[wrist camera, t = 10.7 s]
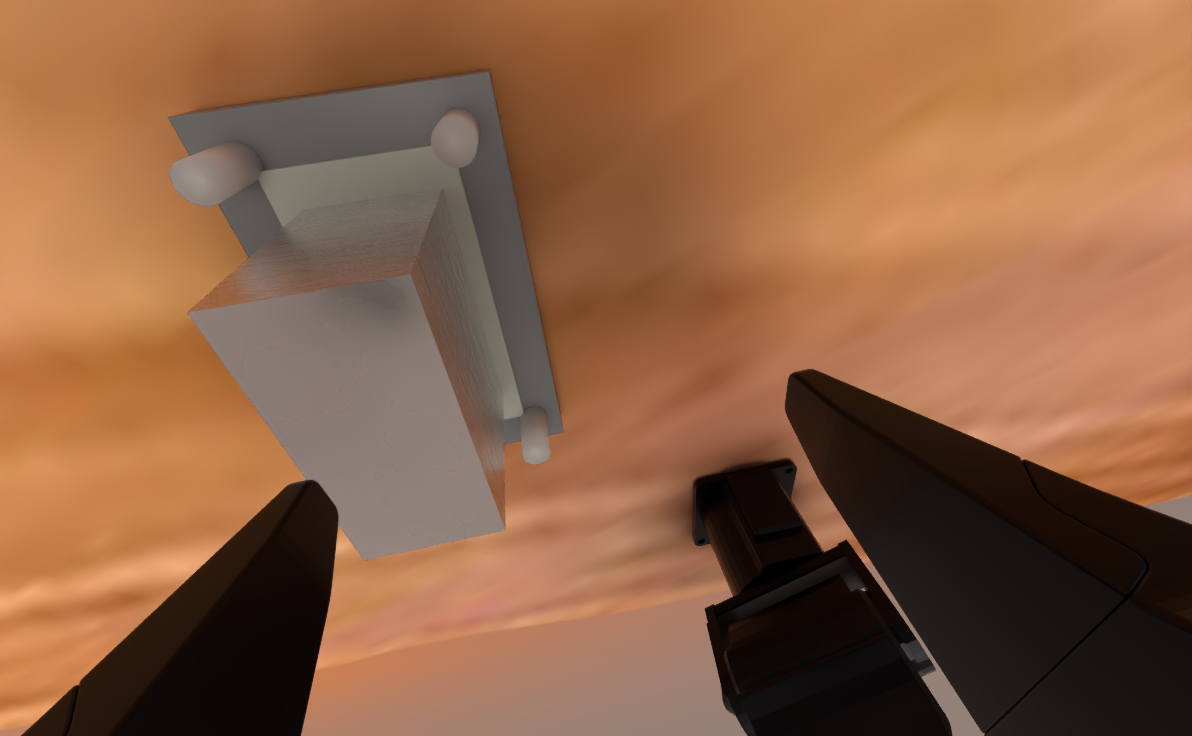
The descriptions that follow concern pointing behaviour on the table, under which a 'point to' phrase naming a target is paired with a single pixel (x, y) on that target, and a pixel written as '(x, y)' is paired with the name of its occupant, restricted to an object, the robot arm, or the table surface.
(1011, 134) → the table surface
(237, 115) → the pin tray
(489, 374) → the block
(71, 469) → the table surface
